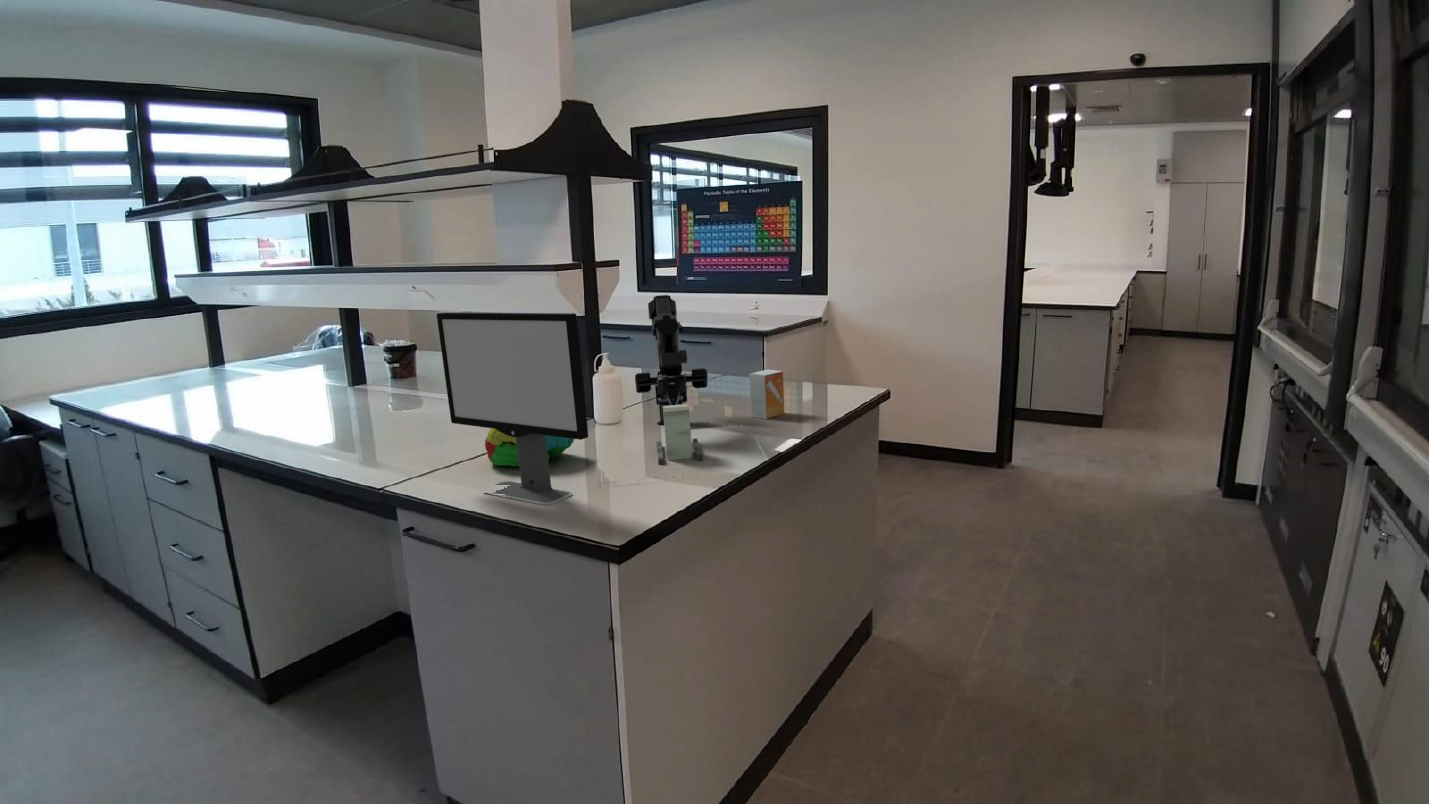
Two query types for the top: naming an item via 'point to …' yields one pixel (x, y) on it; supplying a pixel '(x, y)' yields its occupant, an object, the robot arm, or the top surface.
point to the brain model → (505, 447)
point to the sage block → (677, 432)
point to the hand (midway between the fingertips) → (674, 407)
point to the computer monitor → (517, 386)
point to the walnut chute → (696, 448)
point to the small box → (767, 393)
